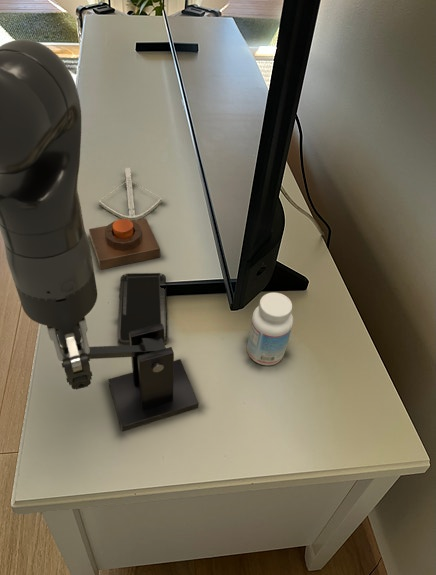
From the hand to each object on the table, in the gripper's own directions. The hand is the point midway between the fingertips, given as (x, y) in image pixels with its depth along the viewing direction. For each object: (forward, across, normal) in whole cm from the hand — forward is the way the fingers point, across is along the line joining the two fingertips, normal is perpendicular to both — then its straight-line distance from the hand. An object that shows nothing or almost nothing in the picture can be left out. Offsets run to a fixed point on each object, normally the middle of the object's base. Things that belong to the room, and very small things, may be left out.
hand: (77, 367), depth 60 cm
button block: (+12, -32, +13) cm, 37 cm away
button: (+8, -32, +13) cm, 36 cm away
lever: (0, 0, +5) cm, 5 cm away
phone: (+12, -16, +12) cm, 23 cm away
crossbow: (+12, -47, +18) cm, 52 cm away
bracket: (+12, 0, +9) cm, 15 cm away
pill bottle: (+12, -2, +28) cm, 31 cm away
